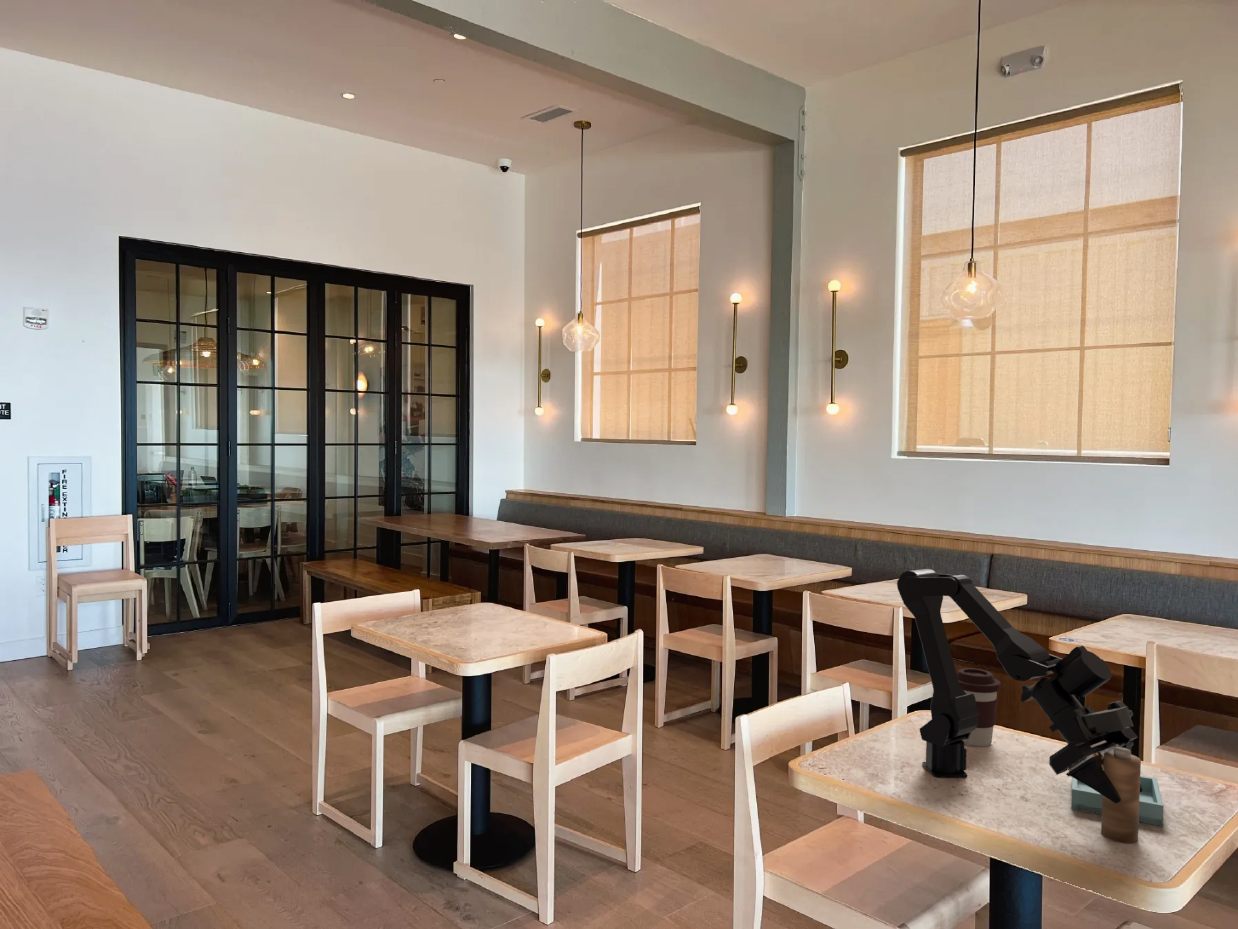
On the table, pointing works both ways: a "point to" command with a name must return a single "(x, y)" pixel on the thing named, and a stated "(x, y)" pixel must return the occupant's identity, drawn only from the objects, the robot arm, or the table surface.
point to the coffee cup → (981, 702)
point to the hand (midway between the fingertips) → (1129, 797)
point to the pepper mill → (1122, 796)
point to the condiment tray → (1148, 801)
